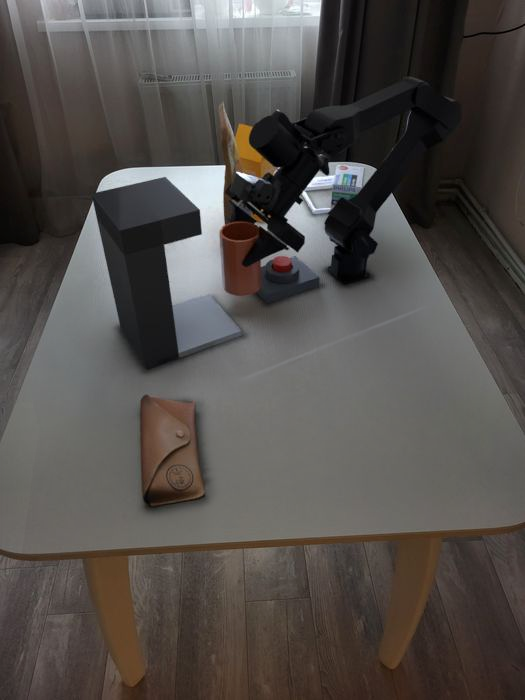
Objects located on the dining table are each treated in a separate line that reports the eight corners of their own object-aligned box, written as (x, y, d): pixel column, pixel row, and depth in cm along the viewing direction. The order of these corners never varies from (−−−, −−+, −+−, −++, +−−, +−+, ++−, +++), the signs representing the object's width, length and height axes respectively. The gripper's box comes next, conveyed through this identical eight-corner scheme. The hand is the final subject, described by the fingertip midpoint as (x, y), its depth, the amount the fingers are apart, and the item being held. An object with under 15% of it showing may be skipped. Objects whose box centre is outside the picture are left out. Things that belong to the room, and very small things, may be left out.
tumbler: (260, 274, 104) (260, 221, 96) (261, 296, 98) (260, 241, 91) (223, 274, 104) (220, 221, 96) (222, 296, 98) (218, 241, 91)
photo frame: (348, 173, 148) (372, 203, 135) (347, 177, 149) (371, 208, 136) (295, 178, 146) (313, 209, 133) (294, 182, 147) (313, 214, 133)
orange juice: (250, 200, 139) (249, 118, 126) (279, 210, 135) (281, 126, 122) (231, 212, 134) (228, 128, 121) (261, 222, 130) (260, 137, 117)
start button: (285, 261, 111) (285, 254, 110) (294, 270, 109) (295, 262, 107) (269, 266, 110) (269, 258, 108) (279, 275, 107) (279, 267, 106)
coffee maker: (209, 298, 108) (199, 168, 91) (241, 335, 99) (236, 200, 82) (120, 327, 101) (91, 193, 84) (146, 370, 92) (119, 230, 75)
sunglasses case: (209, 495, 73) (179, 472, 69) (166, 518, 75) (134, 497, 71) (195, 398, 87) (169, 375, 82) (159, 419, 88) (132, 397, 84)
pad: (295, 264, 117) (295, 248, 114) (319, 286, 111) (320, 269, 108) (244, 281, 112) (244, 264, 110) (267, 304, 106) (267, 286, 104)
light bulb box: (357, 231, 127) (363, 187, 120) (327, 228, 128) (331, 184, 121) (360, 208, 135) (366, 166, 128) (332, 206, 136) (337, 163, 129)
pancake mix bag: (218, 264, 117) (209, 129, 98) (226, 220, 131) (219, 95, 113) (250, 265, 117) (247, 129, 98) (254, 221, 131) (252, 96, 113)
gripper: (232, 135, 93) (178, 211, 96) (291, 176, 81) (227, 261, 84) (272, 170, 101) (221, 239, 104) (331, 212, 89) (271, 289, 92)
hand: (233, 255), depth 96 cm, fingers closed on tumbler, 7 cm apart
